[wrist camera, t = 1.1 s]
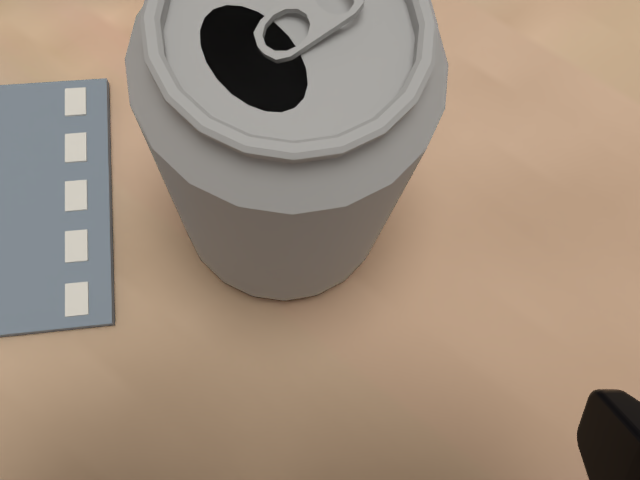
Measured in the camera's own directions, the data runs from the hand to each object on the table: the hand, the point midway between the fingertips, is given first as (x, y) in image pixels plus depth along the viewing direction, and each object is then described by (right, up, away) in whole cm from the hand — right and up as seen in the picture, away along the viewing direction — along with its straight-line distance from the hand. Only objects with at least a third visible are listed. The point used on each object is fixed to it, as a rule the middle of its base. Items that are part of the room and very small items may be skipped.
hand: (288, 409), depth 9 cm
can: (-1, +4, +15) cm, 16 cm away
